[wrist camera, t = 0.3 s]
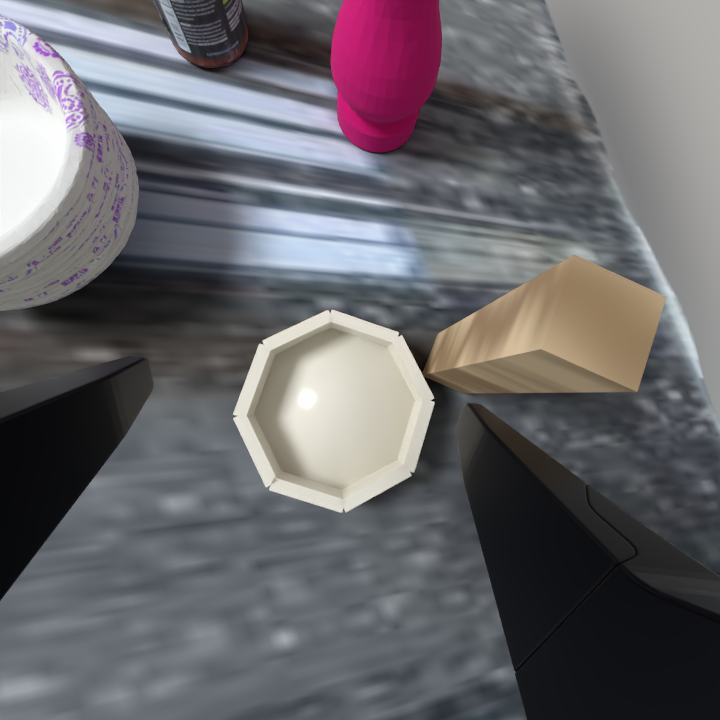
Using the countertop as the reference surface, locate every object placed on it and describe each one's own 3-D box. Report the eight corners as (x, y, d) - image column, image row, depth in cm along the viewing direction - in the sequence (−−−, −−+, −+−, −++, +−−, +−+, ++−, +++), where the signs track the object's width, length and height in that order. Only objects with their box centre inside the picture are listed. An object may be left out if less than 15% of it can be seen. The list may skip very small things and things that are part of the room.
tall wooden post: (462, 393, 24) (637, 391, 10) (421, 375, 24) (541, 348, 10) (478, 351, 25) (666, 297, 11) (437, 333, 25) (574, 254, 11)
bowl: (447, 442, 24) (460, 448, 21) (296, 525, 22) (291, 542, 20) (372, 297, 24) (377, 286, 22) (221, 369, 23) (208, 366, 20)
